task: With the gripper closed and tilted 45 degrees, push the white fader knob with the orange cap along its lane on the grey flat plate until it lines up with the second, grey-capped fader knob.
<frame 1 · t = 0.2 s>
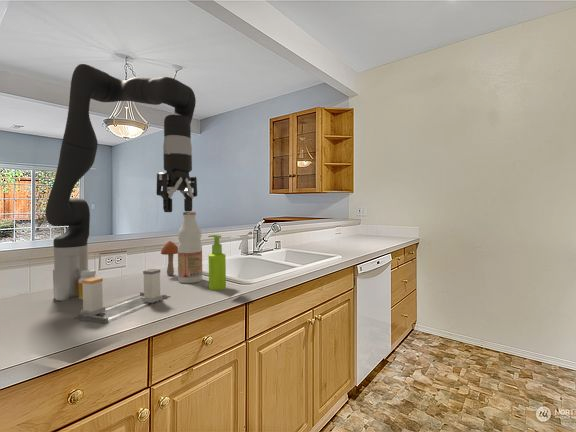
hand: (178, 211, 86), 29 cm above the countertop, tool pointing down, fingers open, 8 cm apart
fader b: (152, 285, 93), point 6 cm above the countertop, slide at 14.0 cm
fruit juice: (190, 281, 124), on the countertop
supplement bottle: (89, 301, 98), on the countertop
grey flat plate: (127, 310, 89), on the countertop
soap dispenser: (216, 291, 109), on the countertop
fader a: (92, 296, 83), point 6 cm above the countertop, slide at 0.0 cm
mushroom: (170, 275, 134), on the countertop
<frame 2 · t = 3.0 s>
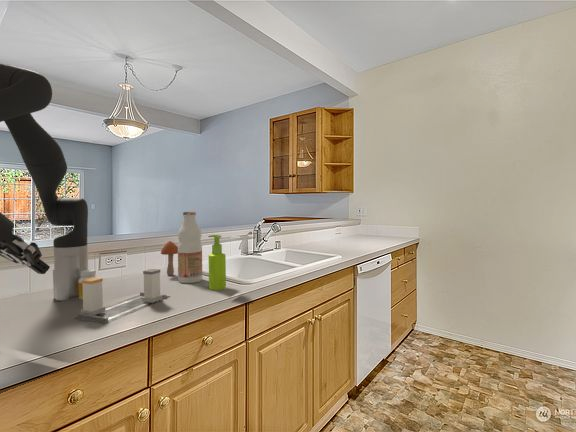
hand: (44, 270, 71), 16 cm above the countertop, tool tilted 45°, fingers closed
nothing on the countertop moved.
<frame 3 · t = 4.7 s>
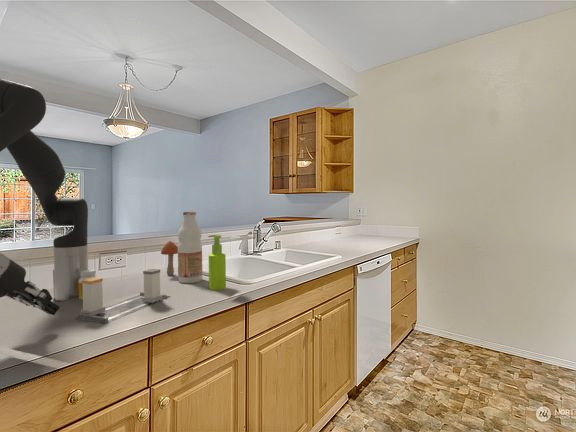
hand: (55, 311, 73), 5 cm above the countertop, tool tilted 45°, fingers closed
nothing on the countertop moved.
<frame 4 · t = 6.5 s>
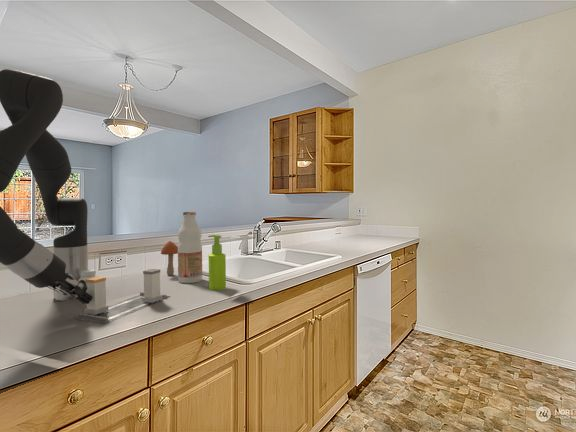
hand: (88, 300, 82), 5 cm above the countertop, tool tilted 45°, fingers closed
fader a: (96, 295, 83), point 6 cm above the countertop, slide at 1.0 cm, touching gripper
everything else where it was.
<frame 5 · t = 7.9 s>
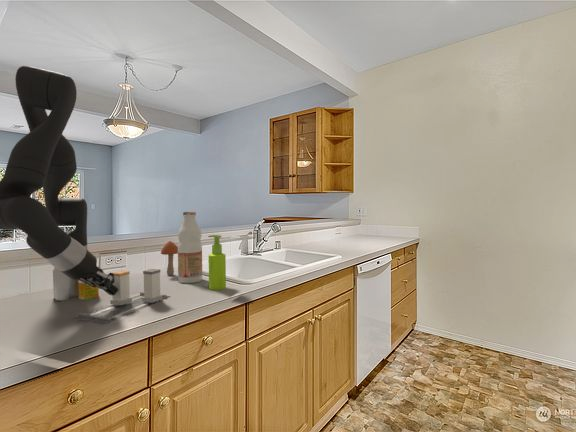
hand: (114, 292, 89), 5 cm above the countertop, tool tilted 45°, fingers closed
fader a: (120, 287, 91), point 6 cm above the countertop, slide at 9.0 cm, touching gripper
everything else where it was.
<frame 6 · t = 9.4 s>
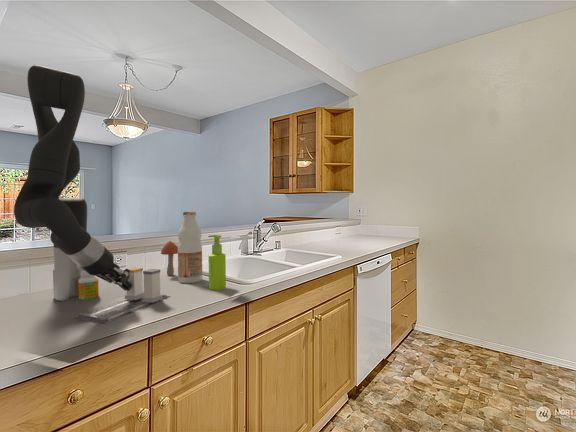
hand: (128, 287, 94), 5 cm above the countertop, tool tilted 45°, fingers closed
fader a: (134, 283, 96), point 6 cm above the countertop, slide at 14.1 cm, touching gripper
everything else where it was.
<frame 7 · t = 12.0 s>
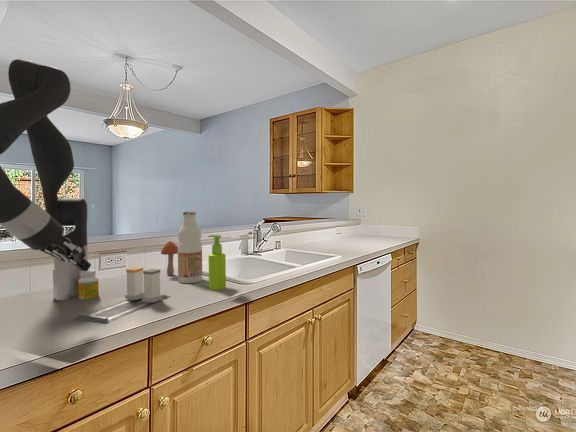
hand: (86, 268, 79), 14 cm above the countertop, tool tilted 45°, fingers closed
fader a: (135, 283, 96), point 6 cm above the countertop, slide at 14.2 cm
everything else where it was.
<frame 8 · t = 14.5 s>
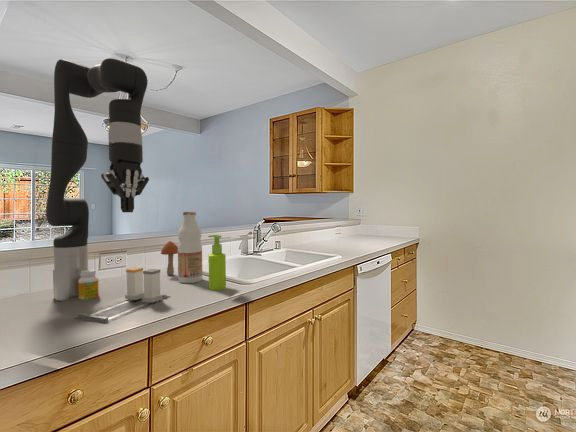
hand: (127, 212, 77), 29 cm above the countertop, tool pointing down, fingers closed
nothing on the countertop moved.
at the end: fader a slide at 14.2 cm; fader b slide at 14.0 cm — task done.
